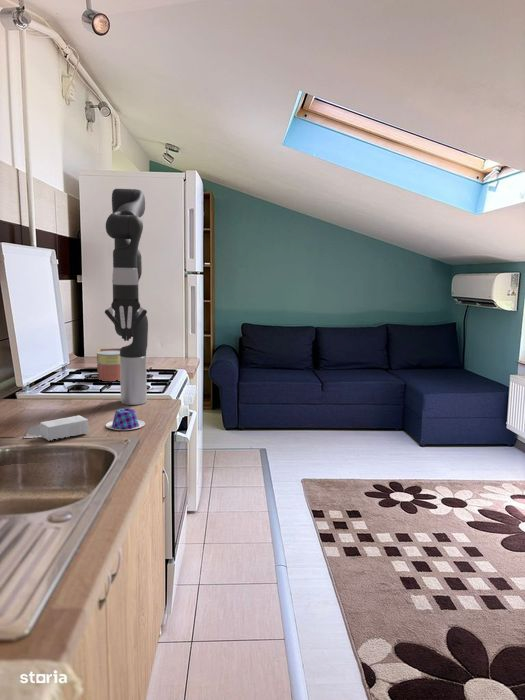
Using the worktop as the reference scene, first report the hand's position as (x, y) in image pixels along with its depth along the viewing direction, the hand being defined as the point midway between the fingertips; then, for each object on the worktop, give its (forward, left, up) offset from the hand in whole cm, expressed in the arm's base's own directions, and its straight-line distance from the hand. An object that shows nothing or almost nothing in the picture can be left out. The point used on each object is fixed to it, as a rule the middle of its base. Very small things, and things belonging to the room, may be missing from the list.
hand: (126, 340), depth 167 cm
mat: (+3, -22, -27) cm, 35 cm away
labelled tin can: (-95, -3, -27) cm, 99 cm away
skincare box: (+4, -12, -24) cm, 28 cm away
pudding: (-1, -1, -28) cm, 28 cm away
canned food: (-71, -7, -27) cm, 76 cm away
